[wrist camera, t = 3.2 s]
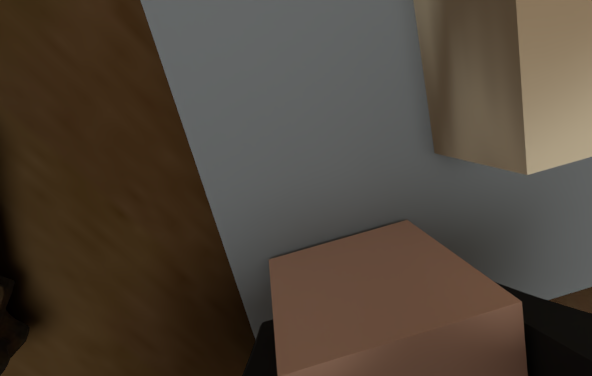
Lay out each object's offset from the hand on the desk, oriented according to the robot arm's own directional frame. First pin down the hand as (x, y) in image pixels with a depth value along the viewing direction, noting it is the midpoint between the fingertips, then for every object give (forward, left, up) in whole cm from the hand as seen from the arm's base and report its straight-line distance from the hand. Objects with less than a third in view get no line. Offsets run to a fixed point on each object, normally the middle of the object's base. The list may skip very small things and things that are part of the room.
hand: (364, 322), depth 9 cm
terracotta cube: (0, 0, -1) cm, 1 cm away
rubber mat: (+4, -4, -2) cm, 6 cm away
